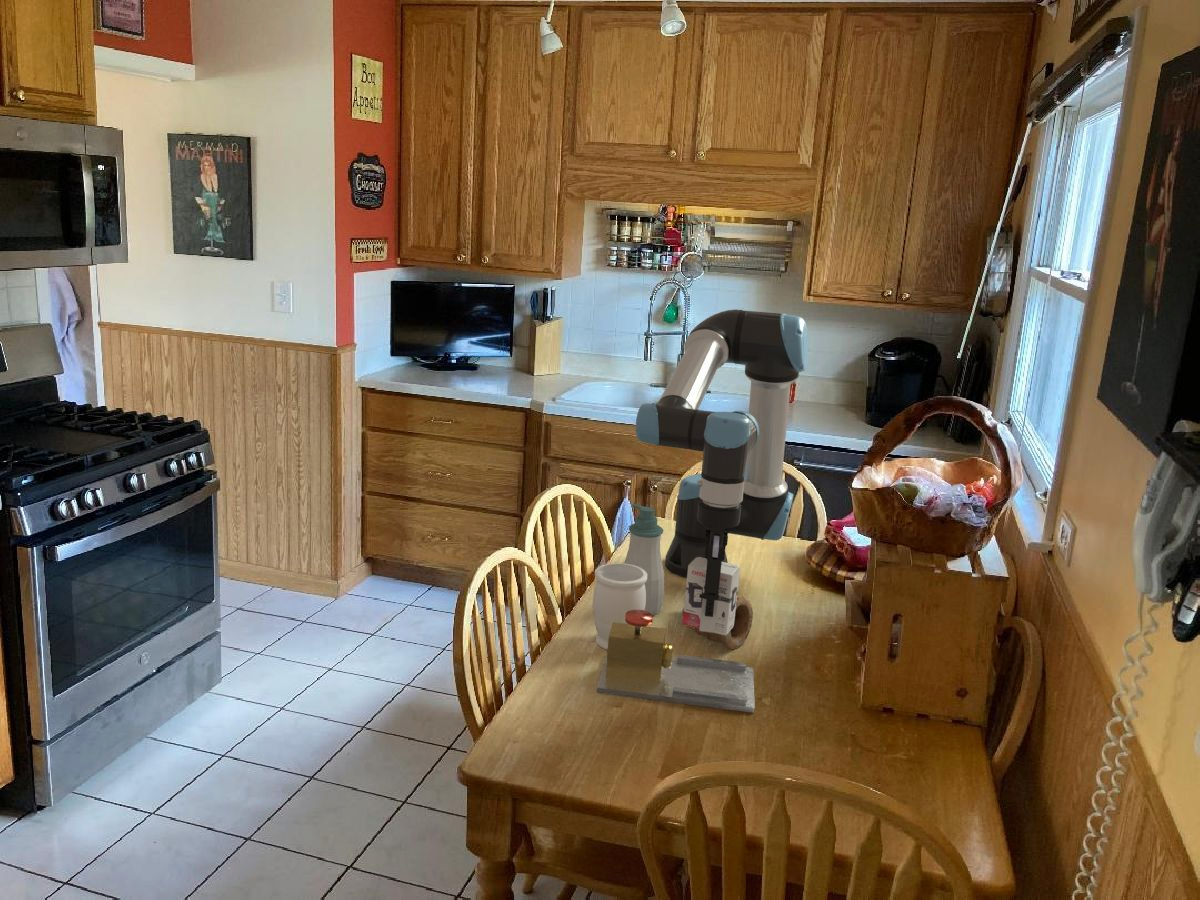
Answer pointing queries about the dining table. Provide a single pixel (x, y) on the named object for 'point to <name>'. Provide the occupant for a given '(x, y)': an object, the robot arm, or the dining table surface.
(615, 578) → the jar
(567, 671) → the dining table surface
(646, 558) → the soap bottle
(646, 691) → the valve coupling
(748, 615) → the clay pipe
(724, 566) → the ink box
